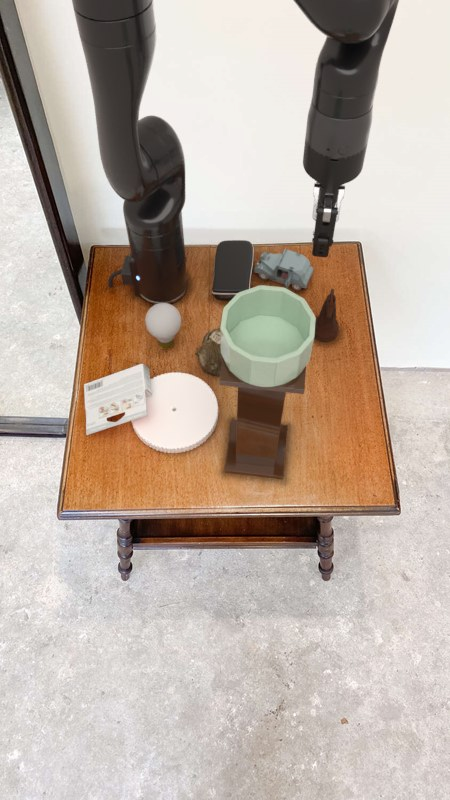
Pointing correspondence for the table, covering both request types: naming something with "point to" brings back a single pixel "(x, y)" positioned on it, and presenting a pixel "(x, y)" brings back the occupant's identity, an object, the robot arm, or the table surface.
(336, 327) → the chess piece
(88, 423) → the ink box
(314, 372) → the table surface
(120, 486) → the table surface
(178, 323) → the light bulb
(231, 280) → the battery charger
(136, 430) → the plastic lid
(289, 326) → the green pedestal cup
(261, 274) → the toy car
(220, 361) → the fossilized seashell
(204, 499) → the table surface
